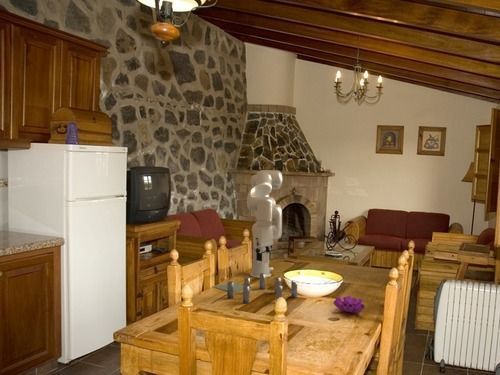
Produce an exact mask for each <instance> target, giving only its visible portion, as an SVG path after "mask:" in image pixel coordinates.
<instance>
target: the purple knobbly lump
mask: <svg viewBox="0 0 500 375" xmlns="http://www.w3.org/2000/svg"><path fill="white" fill-rule="evenodd" d="M333 306H335V307H336V308H338V309H339V310H340V311H343V312H346V313H352V314H354V313H360V312H362V311H363V310H364V309H365V308H366V306H365V305H364V303H363V299H362V298H360V297H359V298H356V297H352V295H347V296H343V298H341V296H338V297H336V298H335V300H333Z"/></svg>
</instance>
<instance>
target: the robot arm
mask: <svg viewBox="0 0 500 375" xmlns="http://www.w3.org/2000/svg"><path fill="white" fill-rule="evenodd" d="M250 183H251V189H249V191H248V194H247V196H246V197H247V200H246V201H247V202H246V203H247V204H246V205H247V209H248V210H249V211H251V212H254V216H255V219H256V222H255V223H254V224H253V225H252V227H251V233H252V271H251V272H250V273H249V275H250V276H251V277H253V278H256V279H257V278H258V279H260V273H264V274H265V279H266V278H271V276H272V273H271V272H272V271H274V267H272V266H269V265H270V262H269V263H264V264H262V263H257V261H262V253H261V251H267V252H270V253H269V260H271V251H272V249H273V246H274V245H275V242H274V240H279V239H281V237H282V234H283V210H282V206H281V205H280V204H277V202H276V200H275V198H274V197H271V196H270V194H271V192H272V190H280V189H281V187H282V183H283V174H282V172H281V171H280V170H277V169H276V170H275V169H272V170H271V169H262V170H259V171H258V172H257V173H256V174H254V175H252V176H251V178H250Z"/></svg>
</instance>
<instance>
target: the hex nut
mask: <svg viewBox="0 0 500 375" xmlns="http://www.w3.org/2000/svg"><path fill="white" fill-rule="evenodd" d="M261 253H262V261H257V263H262V264H264V263H269V264H270V259H269V253H270V254H271V251H270V252H267V251H261Z"/></svg>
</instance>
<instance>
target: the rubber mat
mask: <svg viewBox="0 0 500 375" xmlns="http://www.w3.org/2000/svg"><path fill="white" fill-rule="evenodd" d="M243 286H244V284H240V283H236V282H234V287H233V294H234V293H238V292H241V291H243ZM213 288H214V289H218V290H221V291H225V292H227V282H226V283H223V284H219V285H214V286H213ZM250 289H251V286H250Z"/></svg>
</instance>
